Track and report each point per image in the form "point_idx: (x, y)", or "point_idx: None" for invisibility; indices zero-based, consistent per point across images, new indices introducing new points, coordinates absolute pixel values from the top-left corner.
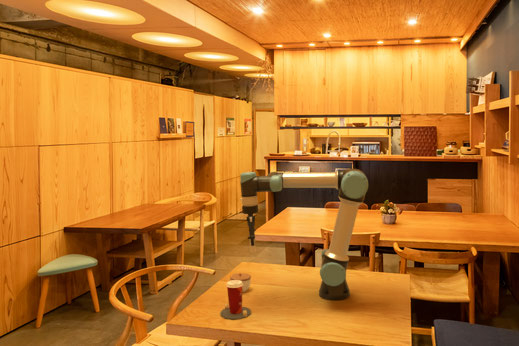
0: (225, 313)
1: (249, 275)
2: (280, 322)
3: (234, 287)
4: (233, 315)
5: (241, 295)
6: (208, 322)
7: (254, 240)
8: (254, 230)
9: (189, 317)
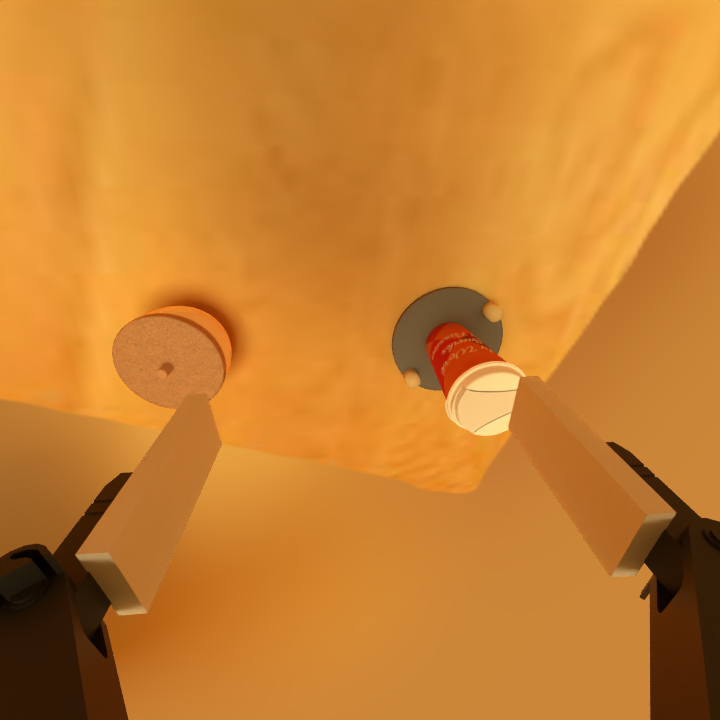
0: None
1: (150, 322)
2: (582, 160)
3: None
4: None
5: (488, 348)
6: None
7: (641, 491)
8: (37, 580)
9: (445, 462)
